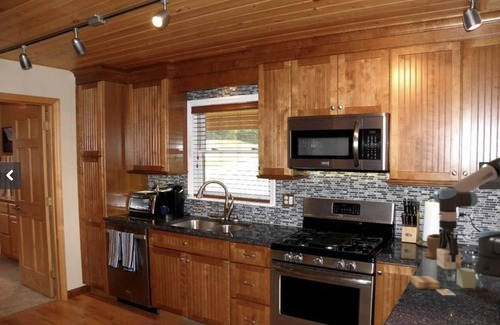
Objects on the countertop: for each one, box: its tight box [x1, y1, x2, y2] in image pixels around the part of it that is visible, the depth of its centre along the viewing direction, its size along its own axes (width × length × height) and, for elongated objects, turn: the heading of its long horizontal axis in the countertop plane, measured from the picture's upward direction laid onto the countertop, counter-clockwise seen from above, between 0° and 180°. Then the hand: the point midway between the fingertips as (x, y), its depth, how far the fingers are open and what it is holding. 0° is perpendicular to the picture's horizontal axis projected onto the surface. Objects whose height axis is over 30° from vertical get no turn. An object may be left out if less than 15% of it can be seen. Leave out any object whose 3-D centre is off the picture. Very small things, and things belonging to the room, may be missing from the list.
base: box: [409, 275, 441, 290], centre depth 190 cm, size 11×11×3 cm
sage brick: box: [456, 267, 477, 289], centre depth 189 cm, size 6×6×8 cm
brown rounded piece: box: [422, 233, 440, 259], centre depth 244 cm, size 15×12×15 cm
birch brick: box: [436, 248, 462, 270], centre depth 190 cm, size 8×8×8 cm
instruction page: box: [434, 288, 456, 296], centre depth 180 cm, size 6×8×1 cm
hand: (448, 265), depth 190 cm, fingers closed on birch brick, 8 cm apart
